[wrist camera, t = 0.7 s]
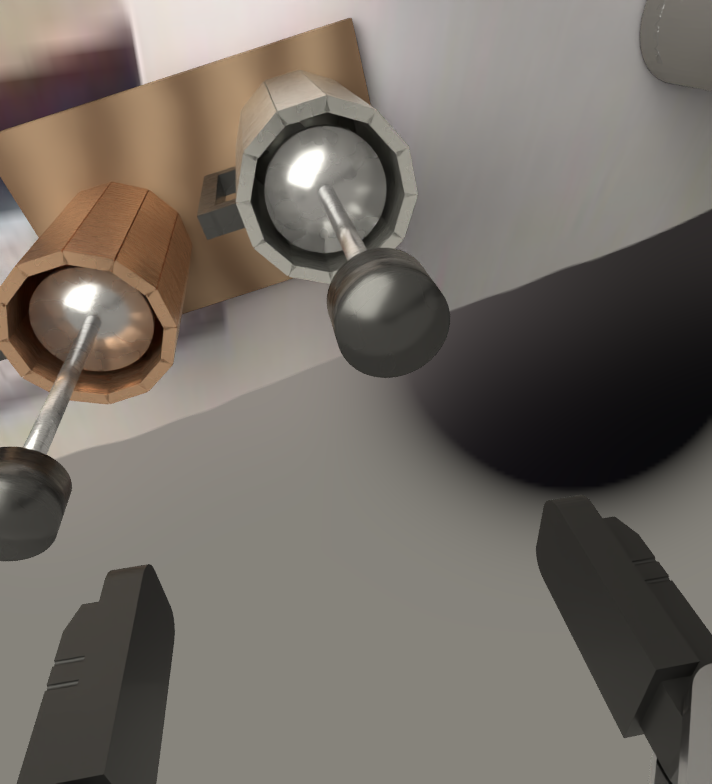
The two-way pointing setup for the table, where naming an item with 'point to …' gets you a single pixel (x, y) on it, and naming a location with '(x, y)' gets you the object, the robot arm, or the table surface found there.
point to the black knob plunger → (65, 393)
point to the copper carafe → (108, 253)
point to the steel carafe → (262, 138)
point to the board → (172, 148)
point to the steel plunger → (355, 250)
